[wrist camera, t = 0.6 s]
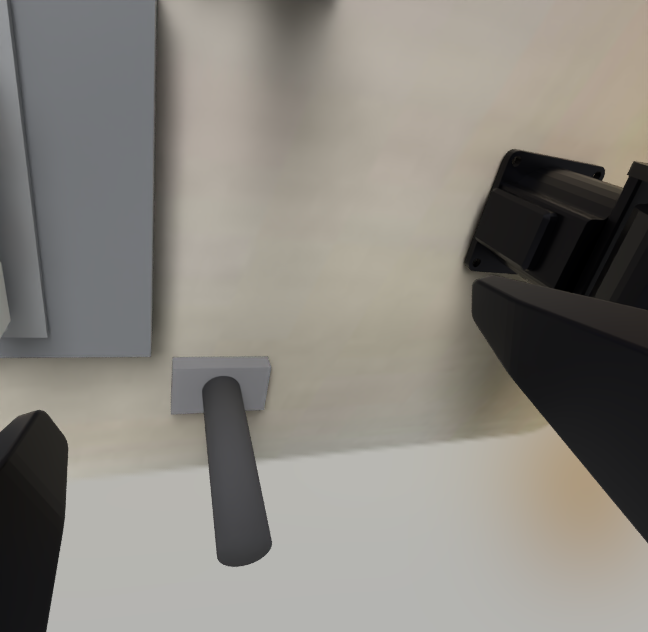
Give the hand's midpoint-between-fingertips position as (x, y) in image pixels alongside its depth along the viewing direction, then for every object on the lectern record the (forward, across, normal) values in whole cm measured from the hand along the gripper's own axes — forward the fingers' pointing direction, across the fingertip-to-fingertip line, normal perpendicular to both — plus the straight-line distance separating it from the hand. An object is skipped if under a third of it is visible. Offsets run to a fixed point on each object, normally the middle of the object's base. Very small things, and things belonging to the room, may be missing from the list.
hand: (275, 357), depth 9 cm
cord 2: (+12, +4, +10) cm, 16 cm away
